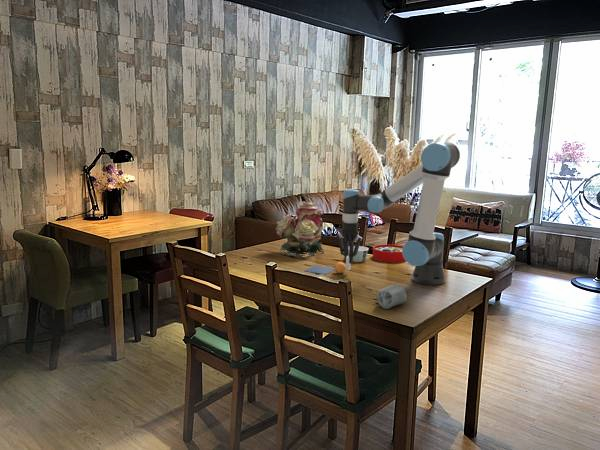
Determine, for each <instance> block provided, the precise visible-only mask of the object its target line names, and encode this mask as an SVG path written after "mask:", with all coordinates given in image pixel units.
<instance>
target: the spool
mask: <svg viewBox="0 0 600 450" xmlns="http://www.w3.org/2000/svg"><path fill="white" fill-rule="evenodd" d="M407 298H408V296H407V292H406V290H405V288H404V287H403V286H402V285H399V284H392V285H388V286H386V287H383V288H382V289H379V290H378V291H377V293H376V299H377V302H378V305H379V306H380V307H381V308H382V309H384V310H389V309H390V308H393V307H395V306H400V305H402V304H405V303H406V301H407Z"/></svg>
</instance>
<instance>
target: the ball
mask: <svg viewBox="0 0 600 450" xmlns="http://www.w3.org/2000/svg"><path fill="white" fill-rule="evenodd" d="M334 268H335V270H334V271H335V272H336V273H337V274H344V273H345V272H346V271H347V270H346V263H345V262H343V261H340V262H337V263H335V265H334Z"/></svg>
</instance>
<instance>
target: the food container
mask: <svg viewBox="0 0 600 450" xmlns="http://www.w3.org/2000/svg"><path fill="white" fill-rule="evenodd" d="M354 248H355V245H354ZM368 251H369V247H366V246H361V245H359V249H358V252H357V255H356V256H353V261H354V262H355V263H363V262H365V261H367V256H368V255H367V254H368V253H369V252H368ZM353 252H354V250H353ZM348 254H349V251H348ZM348 256H349V255H348ZM354 262H353V263H354Z"/></svg>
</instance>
